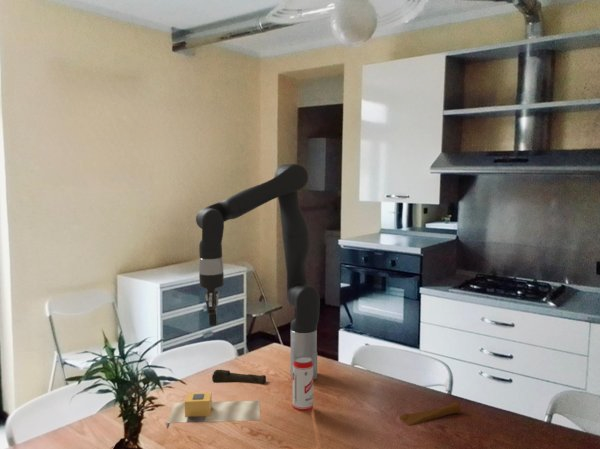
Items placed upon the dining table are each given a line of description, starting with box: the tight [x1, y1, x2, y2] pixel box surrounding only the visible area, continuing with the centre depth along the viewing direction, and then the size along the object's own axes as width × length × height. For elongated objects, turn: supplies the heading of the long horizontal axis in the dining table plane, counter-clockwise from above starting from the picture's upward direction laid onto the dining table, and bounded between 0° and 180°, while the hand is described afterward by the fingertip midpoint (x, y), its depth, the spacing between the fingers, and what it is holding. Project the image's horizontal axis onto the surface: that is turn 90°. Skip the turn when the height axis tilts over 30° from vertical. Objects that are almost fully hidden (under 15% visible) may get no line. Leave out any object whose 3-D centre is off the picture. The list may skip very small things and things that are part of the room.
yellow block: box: [184, 392, 213, 417], centre depth 139 cm, size 7×6×5 cm
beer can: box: [292, 356, 314, 412], centre depth 143 cm, size 6×6×16 cm
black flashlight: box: [211, 369, 267, 385], centre depth 162 cm, size 19×4×5 cm, turn 76°
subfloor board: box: [166, 400, 261, 429], centre depth 140 cm, size 26×12×2 cm, turn 94°
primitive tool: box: [399, 401, 462, 427], centre depth 141 cm, size 19×6×4 cm, turn 111°
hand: (213, 324), depth 151 cm, fingers closed
